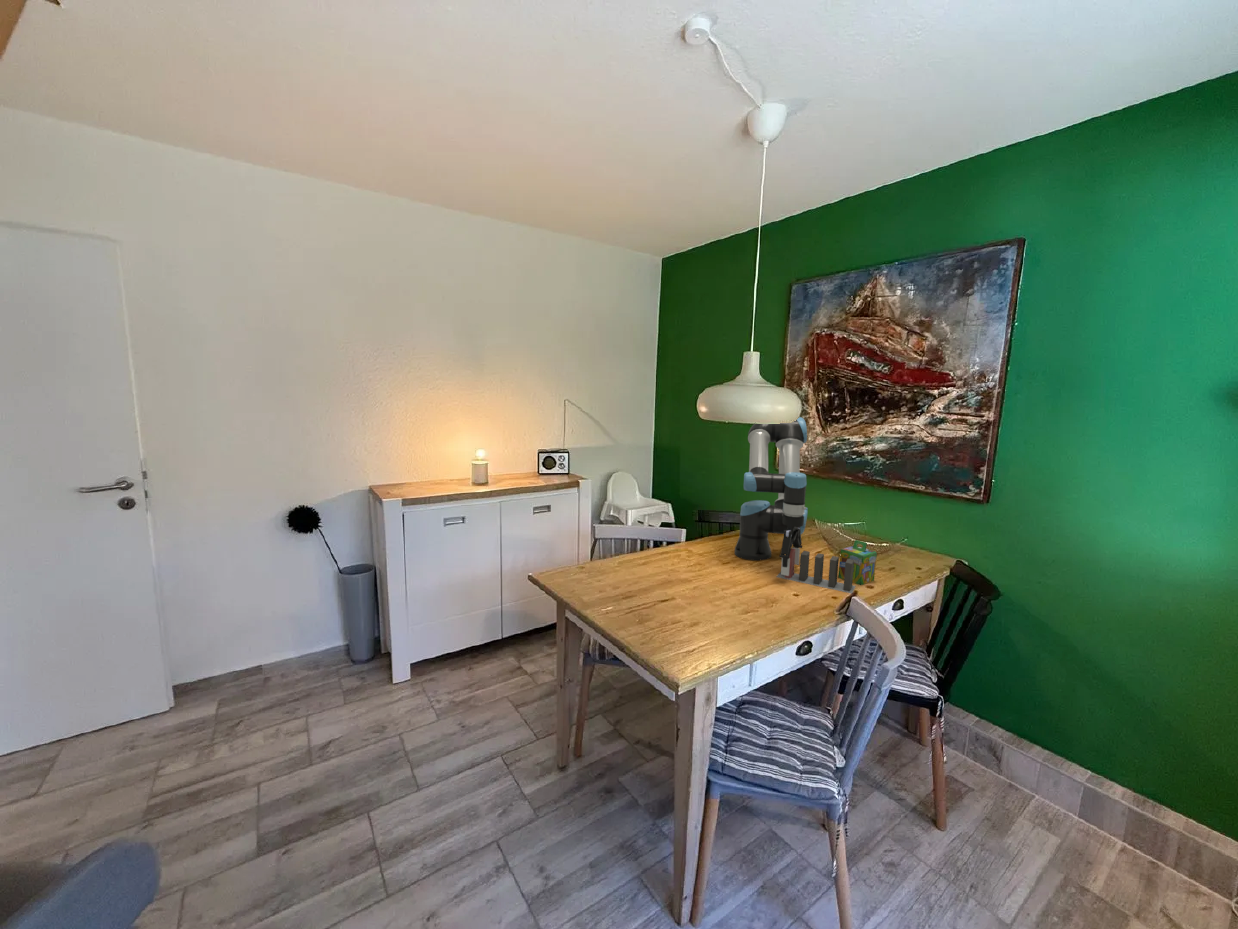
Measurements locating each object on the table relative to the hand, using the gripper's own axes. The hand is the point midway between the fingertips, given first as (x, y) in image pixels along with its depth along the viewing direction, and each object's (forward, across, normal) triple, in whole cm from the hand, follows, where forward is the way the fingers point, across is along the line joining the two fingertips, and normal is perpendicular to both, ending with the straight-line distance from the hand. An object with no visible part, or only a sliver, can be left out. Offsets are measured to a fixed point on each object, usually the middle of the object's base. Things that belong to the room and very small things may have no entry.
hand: (790, 569), depth 178 cm
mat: (+3, 0, -9) cm, 9 cm away
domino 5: (+2, 0, -20) cm, 20 cm away
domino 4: (+2, 0, -15) cm, 15 cm away
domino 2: (+2, 0, -5) cm, 6 cm away
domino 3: (+2, 0, -10) cm, 10 cm away
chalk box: (+3, +12, -21) cm, 24 cm away
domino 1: (+2, 0, 0) cm, 3 cm away
